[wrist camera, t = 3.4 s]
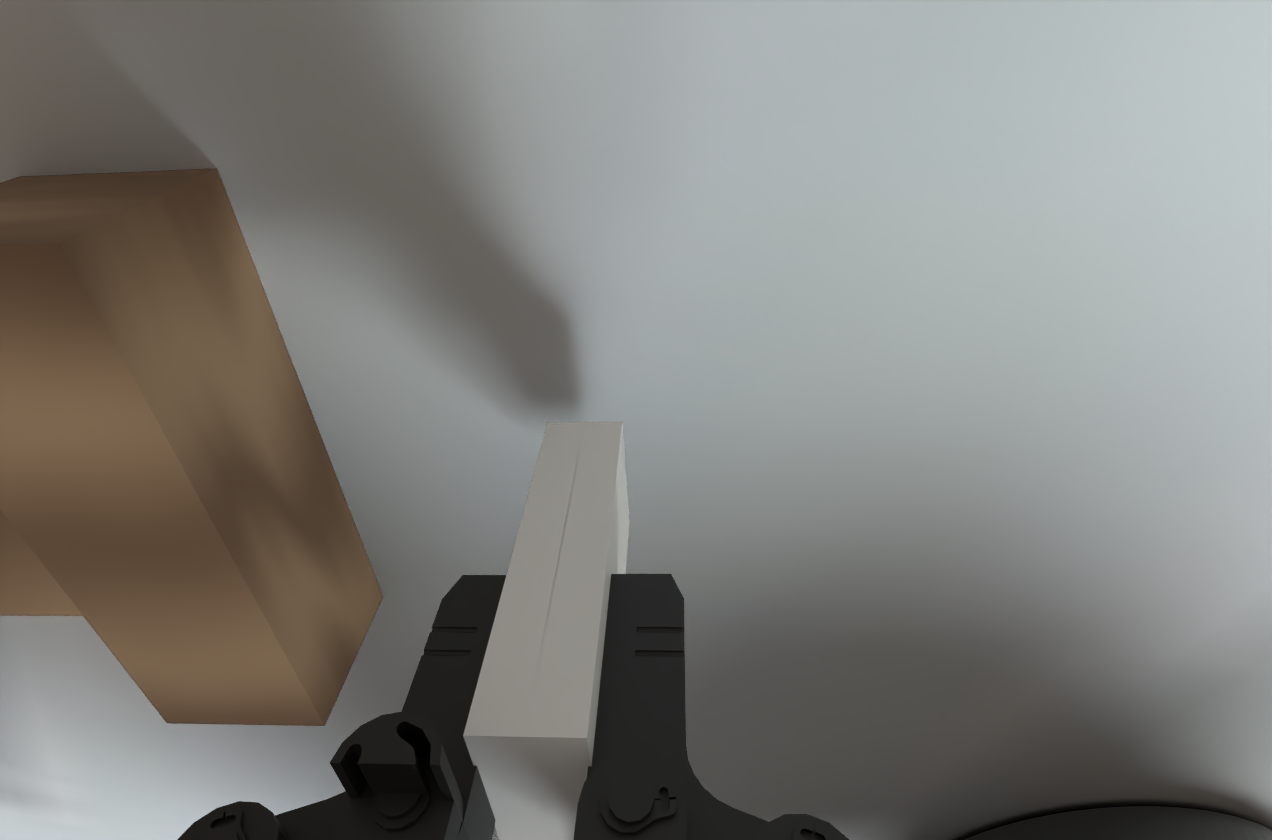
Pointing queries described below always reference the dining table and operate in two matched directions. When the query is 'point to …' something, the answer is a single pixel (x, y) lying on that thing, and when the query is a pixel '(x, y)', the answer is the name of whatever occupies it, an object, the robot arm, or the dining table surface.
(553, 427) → the robot arm
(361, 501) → the dining table surface
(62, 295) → the t block
